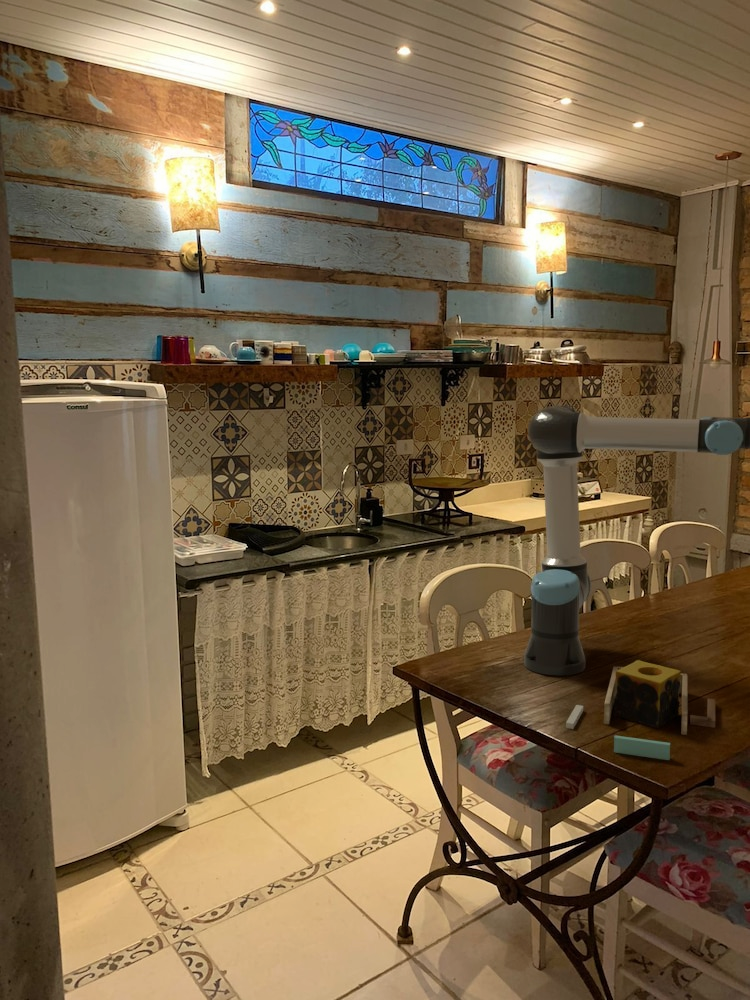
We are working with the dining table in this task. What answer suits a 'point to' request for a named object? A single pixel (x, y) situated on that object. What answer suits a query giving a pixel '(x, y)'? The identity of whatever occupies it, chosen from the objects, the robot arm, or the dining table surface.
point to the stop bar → (642, 747)
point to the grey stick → (574, 717)
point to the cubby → (612, 693)
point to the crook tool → (705, 721)
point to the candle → (647, 693)
